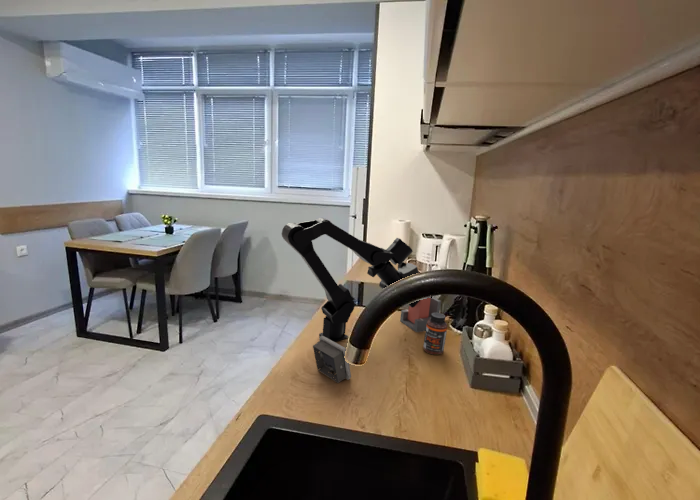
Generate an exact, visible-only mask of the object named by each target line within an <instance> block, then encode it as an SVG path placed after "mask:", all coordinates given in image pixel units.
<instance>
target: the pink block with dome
mask: <svg viewBox="0 0 700 500" xmlns="http://www.w3.org/2000/svg"><path fill="white" fill-rule="evenodd" d="M430 300H431V298H427V299H423V300H420V301H419V302H418V303H417V304H416V306H415V307H410V306H409V305H408V309H407V310H408V318H407V319H408V320H409V321H411V322H412V323H414V324H415V319H420V318H428V316H429V308H430Z"/></svg>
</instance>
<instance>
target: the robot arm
mask: <svg viewBox="0 0 700 500" xmlns="http://www.w3.org/2000/svg"><path fill="white" fill-rule="evenodd" d="M325 235H326V237H329V238H331V239H333V240H334V241H336V242H337V243H340V244H341V245H342V246H345V248H346V247H347V248H348V249H349V250H351V251H352V253H354V254H355V256H357V257H358V258H359V259H361V261H363V262H365V263H367V264H368V265H371V266H368V267H367V269H368V270H367V272H366V274H367V275H369V276H370V277H372V278H375V277H376V275H377V277H378V278H379V279H380V281H379V287H380V289H381V290H382V289H383V288H385V287H386V288H388V287H387V286H389V285H390V284H392V283H394V282H396V281H398V280H400V279H402V278H405V277H407V276H410V275H412V274H416V273H419V274H420V272H419V269H418V266H417V265H416V264H413V263H411V262H410V263H409V262H405V260H407V258H408V257H410V255H412V254H413V252H414V251H413V249H412V248H411V246H409V245H408V244H407V243H406V242H404V241H403V240H402V239H401V238H400V237H396V238H395V239H394V240H393V242H392V243H391V244H390V245H389V246H388V248H387V247H386V248H383V247H379V246H377V245H375V244H373V243H370V242H366V241H363V240H361V239H359V238H358V237H356V236H354V235H352V234H351V233H348V232H347V231H345V230H343V229H342V228H340V227H339V226H337V225H336V224H334V223H332V222H331V220H328V219H326V218H324V217H319V218H316V219H312V220H308V221H307V220H306V221H302V222H301V221H300V222H298V223H296V222H289V223H287V224H285V225H284V226H283V228H282V230H281V237H282V238H283V241H285V242H286V243H287V244H288V245H289V246H290V247H291V248H292V249H293V250H294V251H295V252H296V253H297V254H299V255H300V257H301V258H302V260H303V261H304V263H305V264H306V265H307V267H308V268H309V270H310V271H311V272H312V275H314V277H315V278H316V280H317V281H318V283H319V284H320V286H321V287H322V289H323V290H324V292H325V297H326V299H327V301H326V302H325V303H324V304H323V305H322V306H321V312H322V315H325V317H324V318H323V325H322V326H323V327H322V332H320V333H319V334H318V336H319V337H321V336H324V337H326V338H328V339H330V340H332V341H334V342H335V343H337V342H340V341H342V340H345V339H348V338H349V336H348V335H347V334H346V327H347V323H348V322H349V320H350V317H351V315H352V313H353V312H354V310H355V307H356V304H355V300H356V298H355V297H353V296H352V294H351V292H350V289H349V288H347V287H346V286H344V285H343V284H342V283H339V284H337V282H336V280H335V279H334V278H333V276H332V274H331V273H330V272H329V270H328V268H327V267H326V266H325V264H324V262H323V261H322V260H321V258H320V257H319V255H318V254H317V252H316V250H315V249H314V243H313V241H315V240H317V239H318V238H320V237H322V236H325ZM395 266H397V269H396V267H395ZM419 301H420V300H419ZM419 301H416V302H414V303H411V304H409V305H408V307H409V306H410V307H415V306H416V304H417V303H418V302H419Z"/></svg>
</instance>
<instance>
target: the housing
mask: <svg viewBox="0 0 700 500" xmlns="http://www.w3.org/2000/svg"><path fill="white" fill-rule="evenodd" d="M441 304H442V300H440V299H438V298H436V297H434V296H432V298H431V300H430V308H429V316H428V318H420V319H415V324H414V323H412V322H411V321H409V320H408V319H407V318H408V309H402V310H400V311H401V312H400V317H399V319H400V322H401V323H402V324H403V325H405V326H406V327H408V328H409V329H411V330H412V331H414V332H415V333H422V332H426V325H427V321H428V320H430V319H431V314H432V313H440V312H441V311H440V310H441V306H442V305H441Z"/></svg>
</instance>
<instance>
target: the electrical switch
mask: <svg viewBox="0 0 700 500" xmlns="http://www.w3.org/2000/svg"><path fill="white" fill-rule="evenodd" d="M318 339H319V340H318V341H317V342H316V343H315V344H313V345H312V349H313V355H314V358H315V363H316V364H315V365H316V369H317V370H318V372H320V373H322V374H323V375H325V376H326V377H328V378H330V380H333V382H335V383H337V384H339V383H340V382H342V381H344V380H345V379H346V380H348V381H349V380H350V379H351V378H352V374H351V367H350V362H349V363H347V362H346V361H345V358H344V356H345V351H346V350H347V348H346V347H344V346H342V345H341V344H339V343H337V342H334V341H332V340H330V339H328V338H326V337H324V336H319V338H318ZM332 372H333V373H332Z"/></svg>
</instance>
